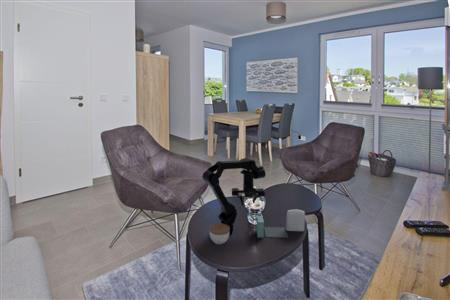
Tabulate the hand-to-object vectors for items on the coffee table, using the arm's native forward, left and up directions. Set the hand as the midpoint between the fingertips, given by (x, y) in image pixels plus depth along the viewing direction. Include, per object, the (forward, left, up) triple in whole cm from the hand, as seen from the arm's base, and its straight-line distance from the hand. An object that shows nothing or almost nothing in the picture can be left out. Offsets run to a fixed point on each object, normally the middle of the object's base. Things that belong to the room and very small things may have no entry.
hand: (247, 206), depth 173 cm
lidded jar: (-16, -19, -12) cm, 27 cm away
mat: (+16, -8, -12) cm, 21 cm away
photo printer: (+27, -5, -12) cm, 30 cm away
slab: (+7, -10, -12) cm, 17 cm away
